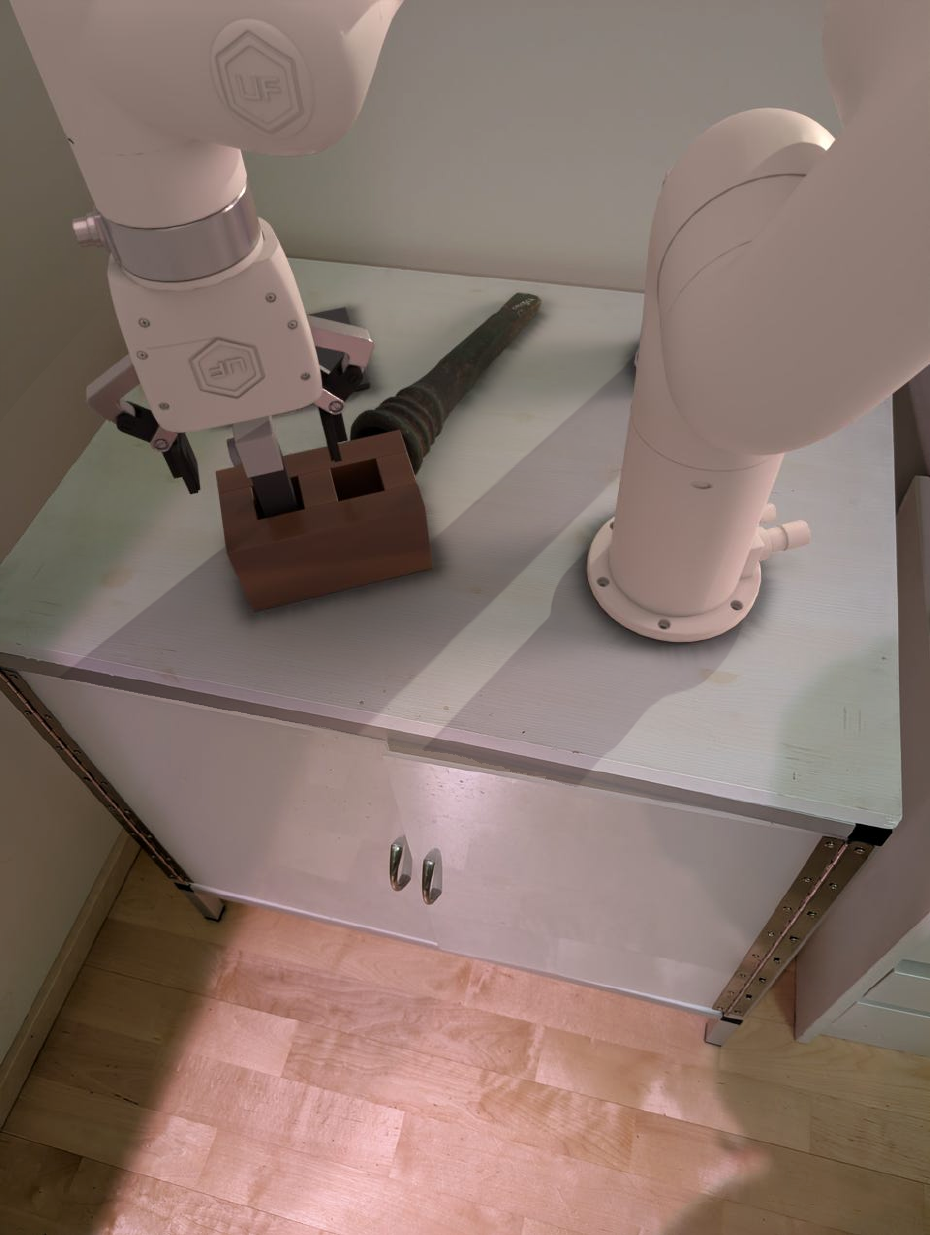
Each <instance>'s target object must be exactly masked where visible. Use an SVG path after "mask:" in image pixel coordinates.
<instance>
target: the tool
mask: <svg viewBox="0 0 930 1235" xmlns="http://www.w3.org/2000/svg"><path fill="white" fill-rule="evenodd" d="M541 305H542V299H541V298H540V297H539V296H538V295H536V294H532V293H527V292H516V293H515V294H513V295H512V296H511V297H510V298H509V299H508V300H507V301H506V302H505V303H504V304H503V305H502V306H501V307H500V309H499V310H498V311H496V312H494V313H493V314H492V315H491V316H489V317H487V319H486V320H485V321H484V322H483V323H481V325H479V326H478V327H477V328H476V329H475V330H473V331H472V332H471V333H470V334H468V335H467V337H465V338H464V339H463V340H462V341H460V343H459V344H457V345H456V346H455V347H454V348H452V349H451V350H450V351H449V352H448V353H447V354H445V355H444V357H442V358H441V359H440V360H439V361H438V362H437V364H436V365H434V366H433V367H432V369H430V370H429V371H428V372H427V373H426V374H425V375H423V376H422V377H421V378H420V379H418V380H417V381H415V382H413V383H412V384H410V385H409V386H406V387H403V388H401V389H400V390H399V391H398V392H397V393H396V394H395V395H394V396H389V397H387V398H385V399H384V400H383V401H381V403H380V404H379V405H378V406H377V407H375V408H373V409H367V410H364V411H362V412H361V413H359V415H358V416H357V417H355V419H354V421H353V422H352V424H351V427H350V432H349V441H352V440H356V439H361V438H365V437H370V436H374V435H379V434H383V433H388V432H392V431H396V430H400V432H401V435H402V438H403V441H404V444H405V447H406V450H407V453H408V456H409V459H410V462H411V465H412V468H413V472H414V475H415V476H417V475H418V473H419V471H420V470H421V467H422V465H423V463H424V459H425V457H427V456H428V454H429V453H430V452H431V447H432V446H433V445H434V444H435V442H436V438H437V437H439V436H440V434H441V433H442V431H443V427H444V423H445V422H446V420H447V419H448V417H449V416H450V414H451V413H452V412H453V410H455V408H456V406H457V405H458V404H459V403H460V401H462V399H463V398H464V397H465V396H466V395H467V394H468V393H469V392H470V391H471V390H472V388H474V386H475V384H476V383H478V380H479V379H480V378H481V376H482V375H483V374H484V372H485V371H486V370H487V369H488V368H489V366H490V365H491V364H492V363H493V361H494V360H495V359H496V358H497V356H499V354H500V353H501V352H502V351H503V350H504V349H505V348H506V347H507V346H508V345H509V344H510V343H511V341H513V339H514V338H516V336H518V334H519V333H520V332H521V331H522V329H523V328H525V326H526V325H527V324H528V323H529V322H530V321H531V320H532V318H533V317H534V315H536V313H537V312H538V311H539V309H540V307H541Z"/></svg>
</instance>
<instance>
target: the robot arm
mask: <svg viewBox="0 0 930 1235" xmlns="http://www.w3.org/2000/svg"><path fill="white" fill-rule="evenodd" d="M404 1H405V0H9V3H10V5H11V9H12V11H13V13H14V16H15V18H16V21H17V23H18V25H19V28H20V30H21V32H22V35H23V38H24V40H25V43H26V45H27V47H28V49H29V52H30V54H31V57H32V59H33V61H34V64H35V67H36V69H37V71H38V73H39V75H40V78H41V80H42V83H43V85H44V87H45V90H46V92H47V95H48V97H49V99H50V102H51V105H52V107H53V109H54V112H55V114H56V115H57V118H58V121H59V123H60V125H61V128H62V131H63V133H64V135H65V138H66V141H67V143H68V145H69V146H70V147H69V148H70V149H71V151H72V154H73V156H74V158H75V161H76V163H77V165H78V168H79V171H80V172H81V175H82V177H83V179H84V183H85V185H86V187H87V190H88V192H89V194H90V197H91V199H92V202H93V204H92V212H91V211H90V212H87V213H85V216H81V217H75V218H72V219H71V225H72V230H73V232H74V235H75V238H76V240H77V242H78V244H79V246H80V247H81V248H86V247H93V246H95V247H97V248H103V247H104V248H105V250H106V251H107V253H110V255H109V258H108V266H107V271H106V272H107V274H106V275H107V280H108V286H109V291H110V295H111V299H112V303H113V307H114V311H115V315H116V319H117V321H118V324H119V327H120V330H121V333H122V338H123V340H124V343H125V345H126V348H127V351H128V353H127V354H126V355H125V356H124V357H122V358H121V359H120V360H119V361H117V362H116V363H114V364H113V365H112V366H111V367H110V368H108V369H107V370H106V371H104V372H103V373H102V374H101V375H99V376H98V377H96V379H94V380H93V381H91V383H89V384H88V385H87V386H86V393H85V394H86V395H85V396H86V397H85V398H86V399H85V400H86V401H85V402H86V405H87V407H88V408H90V409H91V410H92V411H94V412H95V413H97V414H99V415H100V416H101V417H103V418H104V419H106V420H107V421H109V422H112V423H113V424H115V425H116V428H117V430H118V431H119V432H120V433H123V434H126V435H129V436H131V437H133V438H136V439H139V440H141V441H144V442H146V443H149V444H150V446H151V449H152V450H153V451H156V452H157V453H161V455H162V457H163V459H164V460H165V462H166V465H167V467H168V470H169V471H170V473H171V476H172V477H173V479H180V478H182V481H183V482H184V484H185V487H186V489H187V492H188V493H189V495H195V494H198V493H199V491H201V480H200V472H199V464H198V460H197V457H196V456H195V453H194V451H193V448H192V446H191V444H190V443H191V442H190V441H189V439H188V436H187V434H186V433H193V432H194V433H195V432H199V431H205V430H210V429H214V428H219V427H225V426H229V425H232V424H234V423H238V422H243V421H248V420H252V419H257V418H262V417H266V416H271V415H272V416H276V415H279V414H284V413H288V412H293V411H297V410H300V409H303V408H305V407H308V406H310V405H312V404H313V405H316V407H317V410H318V413H319V418H320V421H321V426H322V428H323V430H322V431H323V434H324V438H325V442H326V446H328V450H329V454H330V458H331V461H334V462H339V461H342V459H341V454H340V450H339V446H338V443H343V442H347V441H349V440H348V435H347V431H346V425H345V421H344V416H343V412H345V409H346V403H345V402H346V401H347V400H348V399H349V398H350V396H351V395H353V393H354V392H355V391H354V390H355V389H356V388H357V387H358V385H359V384H360V383H361V382H362V380H363V372H364V369H365V370H366V369H367V366H368V364H369V362H370V360H371V357H372V354H373V351H374V349H375V344H374V343H375V342H374V341H373V337H372V335H371V334H372V333H371V332H370V330H369V329H367V328H365V327H361V326H357V325H352V324H351V325H349V324H345V323H340V322H336V321H332V320H327V319H323V318H319V317H314V316H310V315H309V314H307V313H306V310H305V307H304V303H303V299H302V296H301V293H300V290H299V287H298V284H297V281H296V279H295V278H296V277H295V275H294V273H293V270H292V268H291V266H290V263H289V260H288V258H287V256H286V253H285V251H284V250H283V247H282V245H281V243H280V240H279V239H278V237H277V235H276V233H275V231H274V229H273V227H272V226H271V224H270V223H269V222H268V221H267V220H265V219H264V218H262V217H260V216H258V213H257V208H256V204H255V200H254V196H253V192H252V190H251V186H250V182H249V181H250V180H249V178H248V174H247V170H246V166H245V162H244V159H243V158H244V157H243V155H242V151H246V152H250V153H255V154H260V155H264V156H265V155H266V156H272V157H281V158H298V157H305V156H310V155H315V154H317V153H320V152H323V151H324V150H326V149H327V150H328V149H329V148H330V147H333V146H334V145H336V144H337V143H338V142H339V141H340V140H341V139H342V138H343V137H345V135H346V134H347V133H348V132H349V131H350V130H351V128H352V126H353V125H354V124H355V122H356V120H357V119H358V117H359V115H360V112H361V111H362V109H363V105H364V103H365V101H366V98H367V94H368V91H369V88H370V85H371V82H372V79H373V76H374V73H375V71H376V68H377V64H378V61H379V57H380V54H381V51H382V47H383V44H384V41H385V38H386V36H387V33H388V30H389V29H390V25H391V23H392V20H393V19H394V18H395V15H396V13H397V11H398V10H399V9H400V7H401V6H402V4H403V3H404ZM825 6H826V7H825V11H824V14H823V16H824V17H823V22H822V28H821V50H822V62H823V67H824V68H823V69H824V72H825V76H826V80H827V84H828V87H829V90H830V93H831V96H832V99H833V104H834V107H835V109H836V112H837V117H838V119H839V122H840V126H841V128H842V130H841V131H840V133H839V134H838V135H837V136H836V138H835V137H834V136H833V135H832V134H831V133H830V132H829V130H828V129H826V128H825V127H824V126H822V125H821V124H820V123H819V122H817V121H816V120H814V119H812V118H810V117H809V116H807V115H804V114H802V113H799V112H798V111H797V112H796V111H794V110H789V109H785V108H777V107H776V108H775V107H763V108H760V107H759V108H752V109H749V110H744V111H741V112H738V113H735V114H732V115H730V116H728V117H726V118H724V119H722V120H720V121H719V122H717V123H714V124H713V125H711V126H710V127H709V128H708V129H706V130H704V131H703V132H702V133H701V134H700V135H699V136H698V137H696V138H695V139H694V140H693V141H692V142H691V143H690V144H689V145H688V146H687V147H686V149H685V150H684V151H683V152H682V153H681V155H680V156H679V157H678V159H677V160H676V161H675V163H674V164H675V165H674V164H673V165H674V166H673V165H672V166H673V168H672V170H671V171H670V173H669V175H668V177H667V179H666V181H665V183H664V185H663V184H662V185H663V187H662V186H661V189H662V190H660V191H659V192H660V193H659V195H658V198H657V200H656V204H655V207H654V212H653V215H652V221H651V226H650V231H649V232H650V233H649V238H648V239H649V241H648V248H647V250H648V251H647V259H646V260H647V261H646V273H645V286H644V287H645V288H644V298H643V308H642V309H643V310H642V320H641V327H642V329H641V328H640V334H641V339H640V338H639V341H640V347H639V346H638V347H639V356H638V363H637V371H636V370H635V377H634V378H635V379H634V384H633V385H634V387H633V393H632V400H631V404H630V408H629V409H630V410H629V416H628V422H627V423H628V424H627V430H626V437H625V443H624V450H623V458H622V463H621V464H622V465H621V472H620V478H619V484H618V485H619V486H618V493H617V498H616V506H615V512H614V515H613V516H612V517H611V518H610V519H609V520H607V521H606V522H605V523H604V524H603V525H602V526H601V527H600V529H599V530H598V531H597V532H596V533H595V535H594V537H593V539H592V541H591V543H590V546H589V549H588V554H587V561H586V563H587V564H586V574H587V580H588V581H587V582H588V585H589V587H590V590H591V593H592V595H593V596H594V598H595V599H596V601H597V603H598V604H599V606H600V607H601V609H603V610H604V611H605V612H606V613H607V614H608V616H610V618H612V619H613V620H614V621H616V622H617V623H619V624H620V625H621V626H622V627H624V628H625V629H628V630H631V631H632V632H634V633H636V634H638V635H641V636H644V637H647V638H650V639H653V640H657V641H663V642H672V643H693V642H698V641H703V640H709V639H711V638H714V637H716V636H719V635H720V636H721V635H722V634H724V633H726V632H727V631H730V630H731V629H732V628H734V627H736V626H737V625H738V624H739V623H740V622H741V621H742V620H743V619H744V618H746V617H747V615H748V613H749V612H750V611H751V609H752V607H753V606H754V604H755V601H756V599H757V597H758V594H759V592H760V587H761V582H762V571H761V563H760V562H762V561H766V560H769V559H770V557H771V555H772V554H773V553H777V552H780V551H783V552H786V551H789V550H794V549H797V548H802V547H804V546H807V545H809V544H810V542H811V530H810V527H809V525H808V524H807V522H806V521H804V520H803V519H798V520H794V521H790V522H786V523H782V524H777V525H776V526H774V527H771V528H767V529H766V528H764V527H763V526H760V525H763V524H768V523H771V522H775V521H776V520H777V516H778V515H777V514H778V513H777V509H776V506H775V504H773V503H772V502H768V501H769V498H770V495H771V492H772V490H773V487H774V484H775V481H776V479H777V476H778V473H779V470H780V468H781V465H782V463H783V459H784V457H785V454H786V453H788V452H792V451H796V450H799V449H803V448H805V447H809V446H811V445H814V444H815V443H819V442H821V441H822V440H825V439H827V438H829V437H831V436H833V435H834V434H837V433H838V432H840V431H842V430H843V429H845V428H847V427H849V426H850V425H852V424H853V423H854V422H857V421H858V420H860V419H861V418H862V417H864V416H865V415H867V414H868V413H870V412H871V411H872V410H873V409H875V408H876V407H877V406H878V405H880V404H881V403H883V402H884V401H885V400H887V399H888V398H889V397H890V396H892V395H893V394H895V392H897V391H898V390H899V389H900V388H902V387H903V386H904V385H906V384H907V383H908V382H909V381H911V380H912V379H913V378H914V377H916V376H917V375H918V374H919V373H921V372H922V371H923V370H924V369H926V367H928V366H929V365H930V0H828V1H827V3H826V5H825ZM315 346H317V347H322V348H327V349H331V350H336V351H341V352H345V355H344V356H343V357H342V358H341V359H340V361H339V362H338V363H337V364H336V366H335V367H334V368H333V369H332V371H329V370H327V369H326V368H324V367H323V366H321V365H320V364H319V362H318V357H317V353H316V349H315ZM139 385H140V387H141V389H142V391H143V394H144V397H145V399H146V401H147V405H148V407H149V408H147V407H145V406H142V405H139V404H137V403H134V402H132V401H129V400H125V398H124V396H126V395H127V394H129V392H130V393H131V391H132V390H134V389H135V388H136V387H138V386H139Z"/></svg>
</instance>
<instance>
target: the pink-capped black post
mask: <svg viewBox="0 0 930 1235" xmlns="http://www.w3.org/2000/svg"><path fill="white" fill-rule="evenodd" d="M231 427H232V433H233V437H231V438H227V439H226V447H227V451H228V455H229V458H230V462H231V464H232V466H233V467H236V466H241V465H243V467H244V470H245V472H246V475H247V477H248V478H249V477H251V480H252V483H253V485H254V488H255V491H256V493H257V496H258V499H259V502H260V504H261V507H262V510H263V512H264V515H265V518H269V517H274V516H278V515H282V514H287V513H291V512H295V511H300V509H299V505H298V502H297V499H296V496H295V493H294V490H293V486H292V483H291V480H290V477H289V474H288V471H287V468H286V464H285V461H284V458H283V456H284V455H283V452H282V449H281V446H280V442H279V440H278V434H277V429H276V425H275V422H274V418H273V415H271V416H266V417H262V418H257V419H252V420H248V421H243V422H238V423H234V424H231Z"/></svg>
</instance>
